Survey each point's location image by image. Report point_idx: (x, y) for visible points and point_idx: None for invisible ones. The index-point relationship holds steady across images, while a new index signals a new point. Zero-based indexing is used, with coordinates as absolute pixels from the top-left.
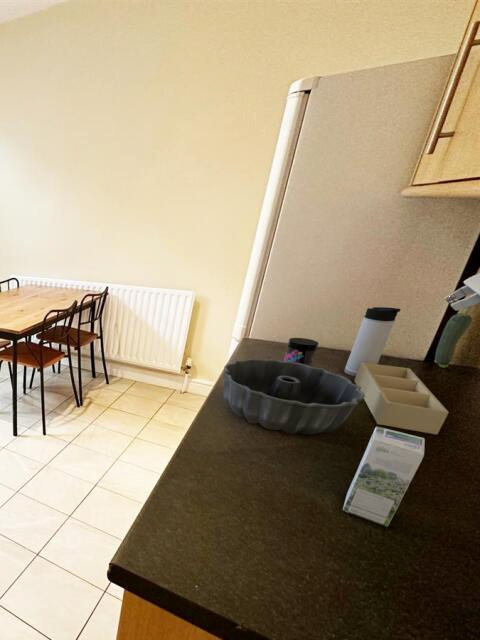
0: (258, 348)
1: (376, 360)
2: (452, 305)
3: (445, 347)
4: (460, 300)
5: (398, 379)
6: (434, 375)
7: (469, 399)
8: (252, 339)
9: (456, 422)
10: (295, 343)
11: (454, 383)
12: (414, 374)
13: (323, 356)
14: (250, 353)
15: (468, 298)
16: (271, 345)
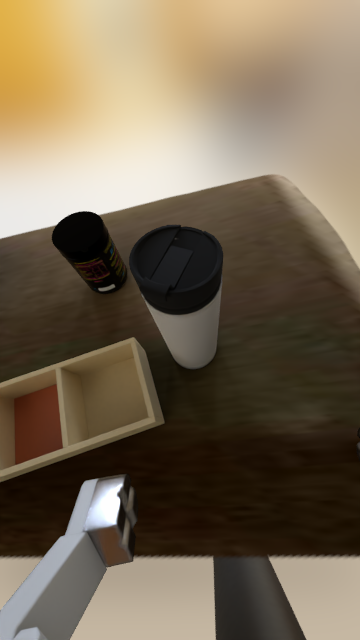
0: (220, 202)
1: (178, 355)
2: (85, 484)
3: None
4: (85, 533)
5: (60, 413)
6: (322, 471)
7: (184, 553)
8: (269, 178)
9: (17, 530)
10: (55, 227)
11: (291, 517)
12: (110, 436)
13: (264, 278)
14: (180, 205)
15: (4, 607)
16: (258, 206)
